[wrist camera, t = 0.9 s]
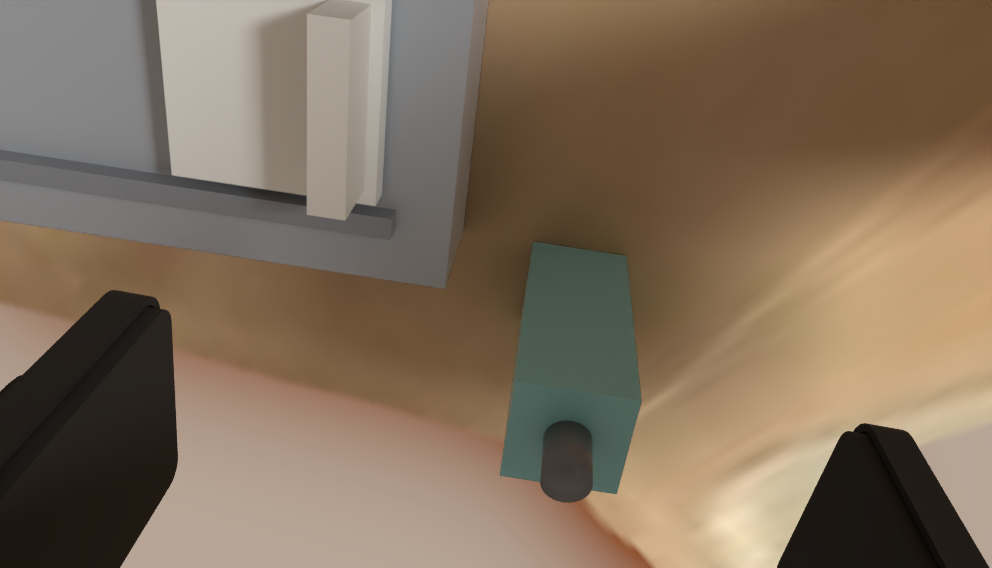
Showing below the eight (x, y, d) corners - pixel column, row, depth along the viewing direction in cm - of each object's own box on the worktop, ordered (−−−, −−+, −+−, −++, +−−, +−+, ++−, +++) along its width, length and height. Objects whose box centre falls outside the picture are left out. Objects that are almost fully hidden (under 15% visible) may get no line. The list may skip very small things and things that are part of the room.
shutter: (393, -18, 24) (366, 2, 21) (382, 194, 27) (357, 237, 25) (167, -50, 24) (109, -35, 21) (184, 164, 28) (136, 203, 25)
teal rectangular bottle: (626, 255, 34) (645, 443, 23) (608, 334, 36) (618, 539, 25) (533, 241, 34) (510, 421, 23) (520, 320, 36) (493, 519, 25)
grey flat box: (504, -140, 27) (485, -135, 22) (463, 231, 34) (441, 300, 29) (-14, -212, 27) (-150, -224, 22) (51, 168, 34) (-42, 225, 29)
